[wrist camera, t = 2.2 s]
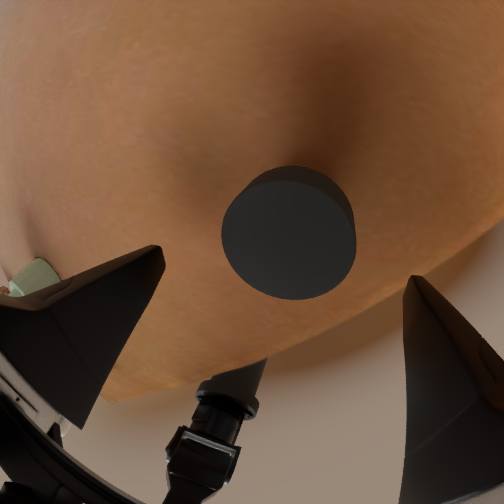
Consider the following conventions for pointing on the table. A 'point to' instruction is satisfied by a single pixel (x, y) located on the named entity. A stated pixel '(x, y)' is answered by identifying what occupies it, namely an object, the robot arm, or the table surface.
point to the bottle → (33, 278)
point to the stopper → (290, 233)
